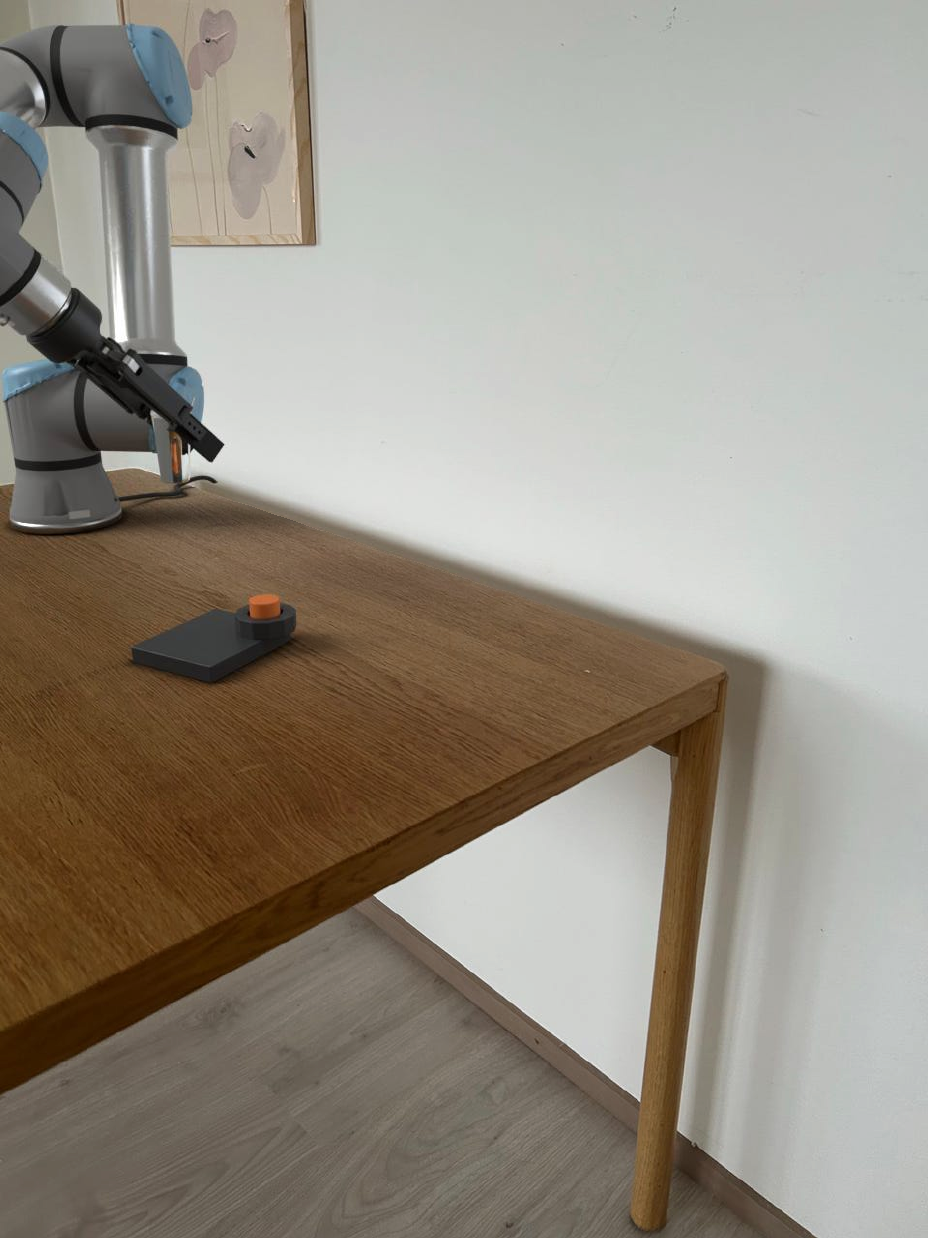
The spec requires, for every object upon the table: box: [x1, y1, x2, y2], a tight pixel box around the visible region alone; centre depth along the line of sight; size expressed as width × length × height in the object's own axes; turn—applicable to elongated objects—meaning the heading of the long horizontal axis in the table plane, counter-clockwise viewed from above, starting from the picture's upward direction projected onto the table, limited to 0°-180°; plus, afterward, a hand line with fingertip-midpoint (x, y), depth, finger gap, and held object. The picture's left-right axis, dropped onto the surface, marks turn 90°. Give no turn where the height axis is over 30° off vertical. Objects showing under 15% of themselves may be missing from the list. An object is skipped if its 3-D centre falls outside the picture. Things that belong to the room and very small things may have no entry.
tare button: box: [248, 593, 281, 619], centre depth 96 cm, size 3×3×2 cm
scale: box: [130, 602, 298, 684], centre depth 95 cm, size 13×12×4 cm
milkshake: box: [150, 397, 195, 485], centre depth 111 cm, size 4×5×10 cm
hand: (204, 449), depth 115 cm, fingers closed on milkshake, 5 cm apart
